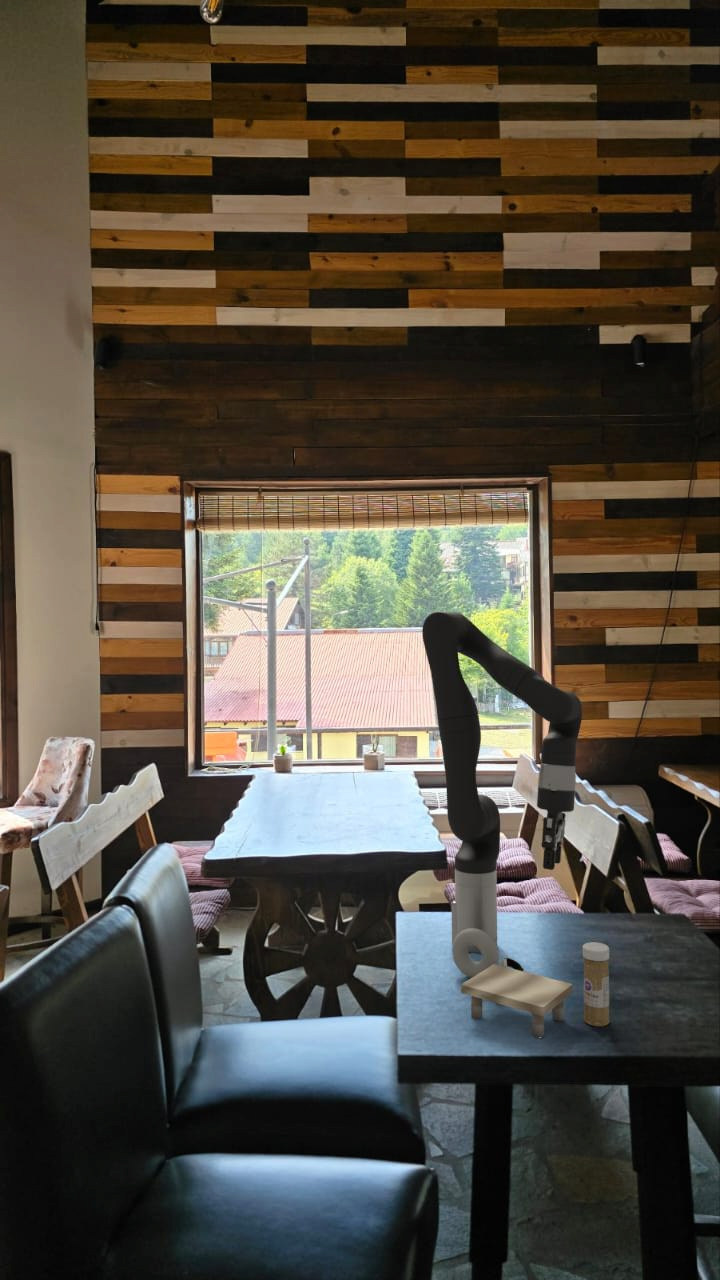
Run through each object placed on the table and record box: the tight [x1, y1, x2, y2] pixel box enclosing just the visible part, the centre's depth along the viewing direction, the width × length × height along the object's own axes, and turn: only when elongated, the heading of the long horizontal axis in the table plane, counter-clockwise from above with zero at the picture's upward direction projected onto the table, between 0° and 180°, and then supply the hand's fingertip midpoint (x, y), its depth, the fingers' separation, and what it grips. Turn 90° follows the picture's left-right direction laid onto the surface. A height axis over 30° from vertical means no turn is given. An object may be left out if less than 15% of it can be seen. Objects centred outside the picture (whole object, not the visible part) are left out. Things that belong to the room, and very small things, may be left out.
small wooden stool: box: [460, 964, 574, 1039], centre depth 149 cm, size 16×12×6 cm
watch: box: [500, 957, 525, 972], centre depth 169 cm, size 8×5×4 cm, turn 0°
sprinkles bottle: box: [582, 941, 611, 1027], centre depth 148 cm, size 5×5×13 cm
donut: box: [451, 928, 500, 979], centre depth 167 cm, size 10×4×10 cm, turn 57°
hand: (551, 866), depth 171 cm, fingers open, 8 cm apart
